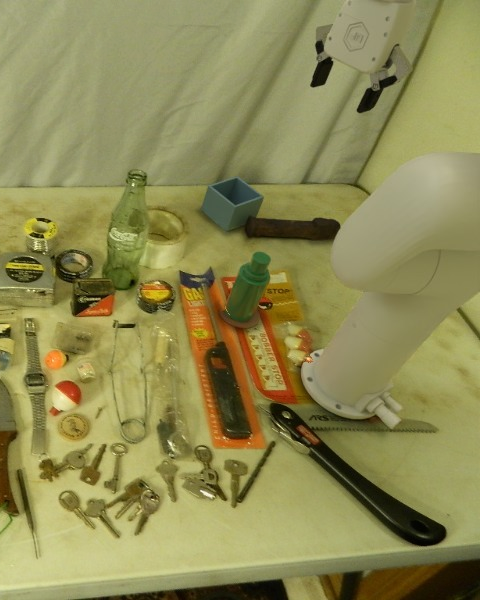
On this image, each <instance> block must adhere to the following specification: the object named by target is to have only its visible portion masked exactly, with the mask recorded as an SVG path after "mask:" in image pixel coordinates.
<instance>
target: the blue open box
mask: <svg viewBox="0 0 480 600" xmlns="http://www.w3.org/2000/svg"><path fill="white" fill-rule="evenodd" d="M264 200H265V196H264V195H263V194H262V193H260V192H259V191H258V190H256V189H255V188H254V187H252V186H251V185H250V184H248V183H247V182H246V181H244V180H243V179H242V178H241V177H239V176H238V175H236V176H232V177H230V178H227V179H224V180H221V181H218V182H215V183H211V184H208V185H207V188H206V190H205V194H204V198H203V201H202V204H201V208H200V210H201V212H202V213H204V214H205V215H206V216H207V217H208V218H210V219H211V220H212V221H213V222H215V224H217V225H218V226H219V227H220V228H221V229H223V230H224V231H225V232H227V233H228V232H230V231H232V230H235V229H238V228H241V227H243V226H245V224H246V222H247V219H248V217H249V216H250V215H251V216H252V217H255V218H258V214H259V211H260V209H261V207H262V204H263V201H264Z"/></svg>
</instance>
